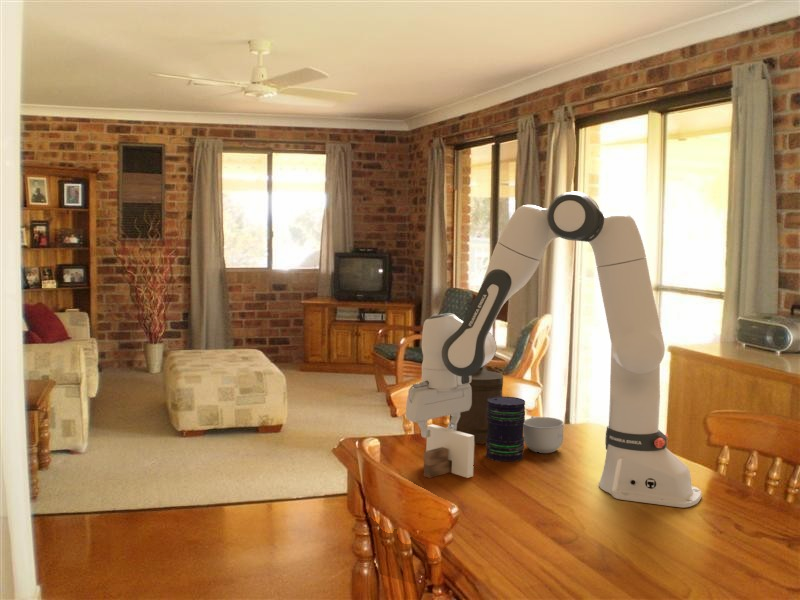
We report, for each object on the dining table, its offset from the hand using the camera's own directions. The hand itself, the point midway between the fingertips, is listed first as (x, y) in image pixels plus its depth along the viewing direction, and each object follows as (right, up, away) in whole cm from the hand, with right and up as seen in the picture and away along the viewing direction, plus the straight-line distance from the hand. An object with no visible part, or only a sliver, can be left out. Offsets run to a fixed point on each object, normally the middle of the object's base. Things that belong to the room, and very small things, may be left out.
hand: (439, 433), depth 204 cm
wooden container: (+12, -6, +29) cm, 32 cm away
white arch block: (+2, -9, -2) cm, 9 cm away
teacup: (+29, -7, +19) cm, 35 cm away
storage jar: (+18, -8, +11) cm, 22 cm away
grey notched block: (+3, -9, -2) cm, 9 cm away
